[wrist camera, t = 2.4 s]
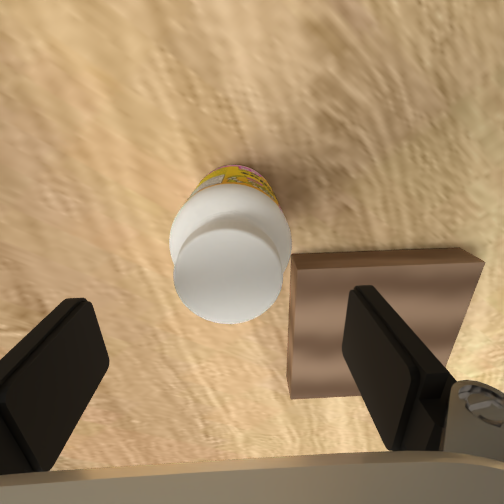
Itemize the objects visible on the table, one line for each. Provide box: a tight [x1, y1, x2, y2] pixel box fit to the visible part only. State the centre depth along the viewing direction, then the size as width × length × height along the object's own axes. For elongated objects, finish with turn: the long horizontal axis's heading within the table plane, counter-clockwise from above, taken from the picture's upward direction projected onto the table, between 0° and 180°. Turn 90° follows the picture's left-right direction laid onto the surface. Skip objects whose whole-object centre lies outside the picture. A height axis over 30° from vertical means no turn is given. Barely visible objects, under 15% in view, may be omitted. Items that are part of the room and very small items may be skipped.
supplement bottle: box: [169, 165, 292, 324], centre depth 17 cm, size 7×7×13 cm
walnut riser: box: [286, 248, 485, 399], centre depth 28 cm, size 16×16×3 cm
